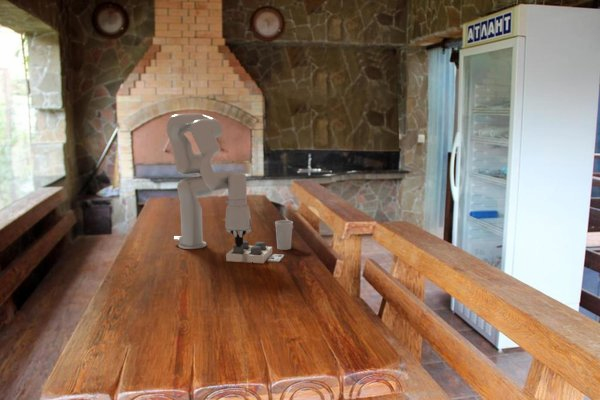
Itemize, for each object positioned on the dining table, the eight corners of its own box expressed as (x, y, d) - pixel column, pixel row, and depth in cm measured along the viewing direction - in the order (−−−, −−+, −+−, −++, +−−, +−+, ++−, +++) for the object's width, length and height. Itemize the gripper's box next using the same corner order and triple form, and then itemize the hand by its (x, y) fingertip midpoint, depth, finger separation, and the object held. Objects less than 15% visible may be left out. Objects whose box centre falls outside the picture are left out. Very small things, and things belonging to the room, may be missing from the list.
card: (267, 261, 238) (267, 259, 238) (272, 255, 246) (272, 253, 246) (279, 261, 237) (279, 260, 237) (284, 256, 245) (284, 254, 245)
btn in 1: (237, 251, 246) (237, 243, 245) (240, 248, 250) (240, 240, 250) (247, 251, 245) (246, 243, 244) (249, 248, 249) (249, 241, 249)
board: (226, 261, 238) (226, 254, 238) (237, 251, 253) (237, 244, 252) (263, 263, 235) (263, 256, 234) (272, 253, 249) (272, 246, 249)
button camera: (249, 256, 238) (249, 248, 237) (252, 253, 242) (252, 245, 241) (259, 257, 237) (259, 248, 236) (262, 254, 241) (262, 246, 240)
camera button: (232, 255, 239) (231, 247, 238) (235, 252, 243) (235, 244, 243) (242, 256, 238) (241, 248, 238) (245, 253, 242) (245, 245, 242)
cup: (290, 250, 254) (290, 224, 252) (273, 249, 255) (273, 223, 253) (294, 246, 262) (294, 220, 259) (277, 245, 263) (277, 219, 261)
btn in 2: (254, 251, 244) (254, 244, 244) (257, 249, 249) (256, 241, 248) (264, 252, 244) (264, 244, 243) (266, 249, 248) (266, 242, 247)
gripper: (217, 204, 234) (219, 247, 238) (252, 204, 231) (253, 248, 235) (223, 201, 242) (225, 243, 245) (257, 201, 239) (258, 244, 242)
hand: (239, 245), depth 240 cm, fingers closed
